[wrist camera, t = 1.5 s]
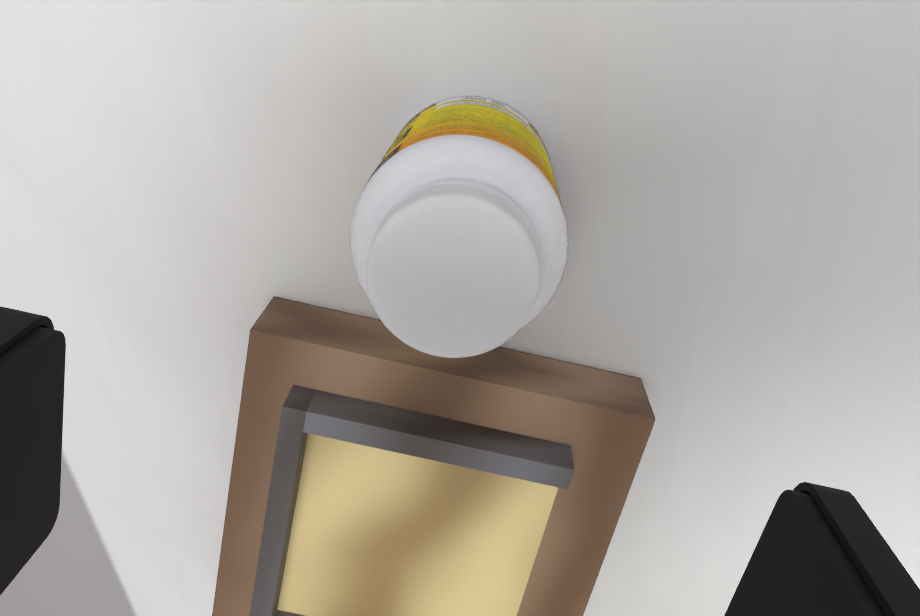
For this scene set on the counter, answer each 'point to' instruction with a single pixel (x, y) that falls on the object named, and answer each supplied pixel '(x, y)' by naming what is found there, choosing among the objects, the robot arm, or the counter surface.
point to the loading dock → (419, 475)
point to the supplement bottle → (460, 229)
